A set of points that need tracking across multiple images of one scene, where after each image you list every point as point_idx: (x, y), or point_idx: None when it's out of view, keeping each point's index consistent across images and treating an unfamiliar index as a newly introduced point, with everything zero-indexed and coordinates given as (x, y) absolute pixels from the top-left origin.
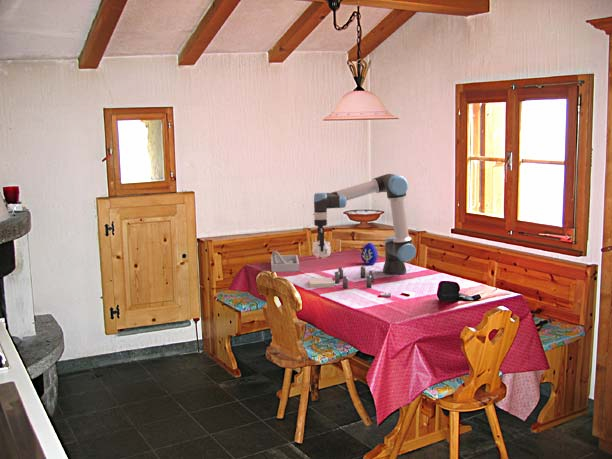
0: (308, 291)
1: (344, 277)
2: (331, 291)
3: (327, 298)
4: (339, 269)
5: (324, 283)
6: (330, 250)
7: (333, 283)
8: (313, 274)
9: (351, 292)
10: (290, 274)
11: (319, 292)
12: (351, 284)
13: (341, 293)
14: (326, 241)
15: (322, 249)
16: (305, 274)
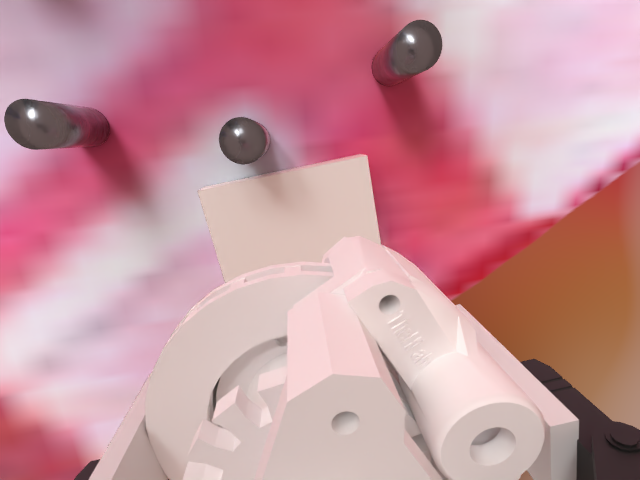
0: (461, 292)
1: (439, 52)
2: (469, 157)
3: (627, 163)
4: (64, 135)
5: (376, 219)
6: (381, 255)
7: (366, 157)
8: (10, 335)
9: (505, 10)
10: (52, 460)
11: (488, 228)
12: (272, 23)
13: (524, 84)
14: (271, 468)
15: (565, 392)
16: (25, 382)
